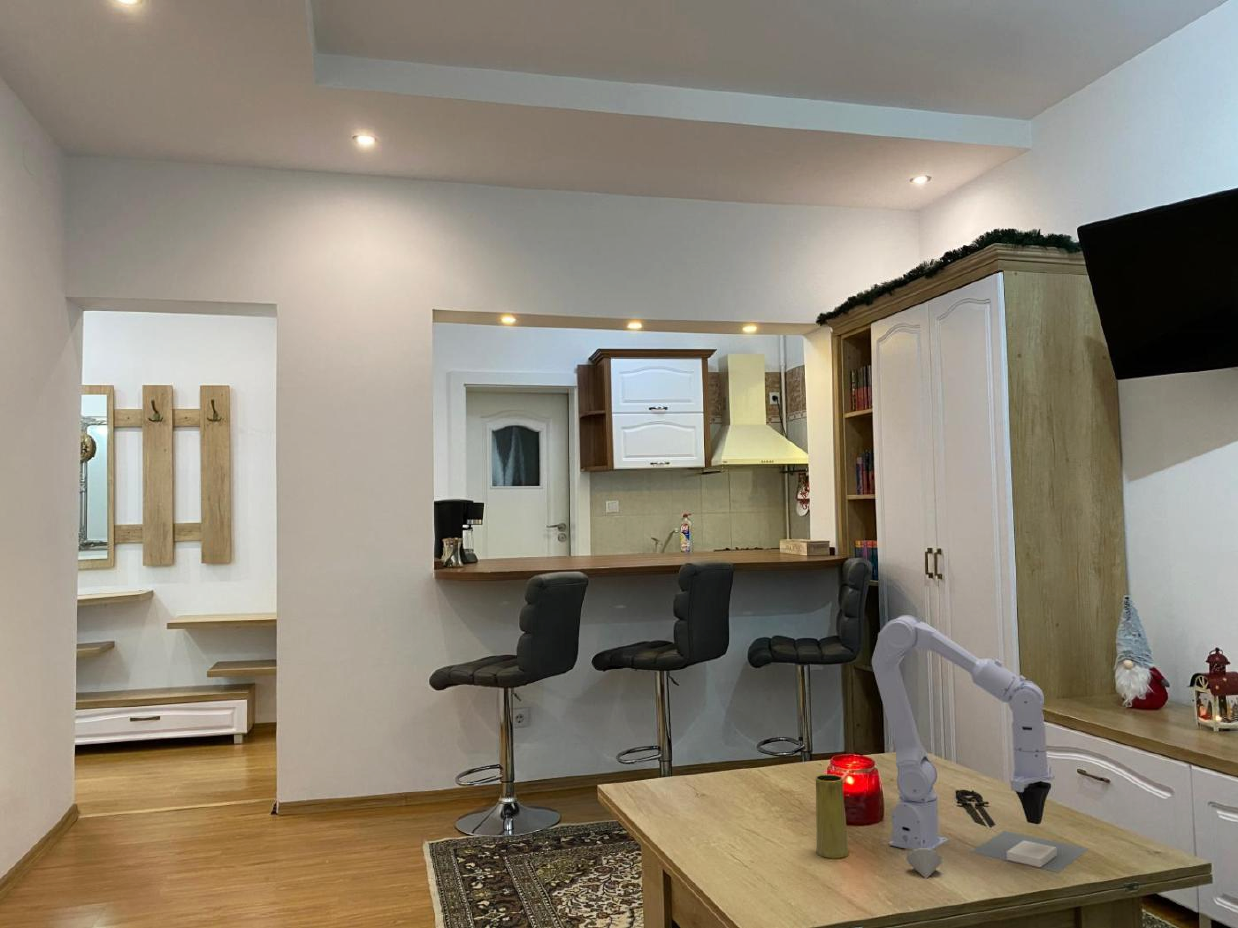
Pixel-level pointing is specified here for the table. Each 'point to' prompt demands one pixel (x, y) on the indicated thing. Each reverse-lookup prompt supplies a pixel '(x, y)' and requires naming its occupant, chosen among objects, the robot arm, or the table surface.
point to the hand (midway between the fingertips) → (1034, 822)
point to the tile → (1031, 853)
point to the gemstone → (924, 861)
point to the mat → (1008, 840)
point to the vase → (830, 817)
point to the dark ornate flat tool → (972, 811)
